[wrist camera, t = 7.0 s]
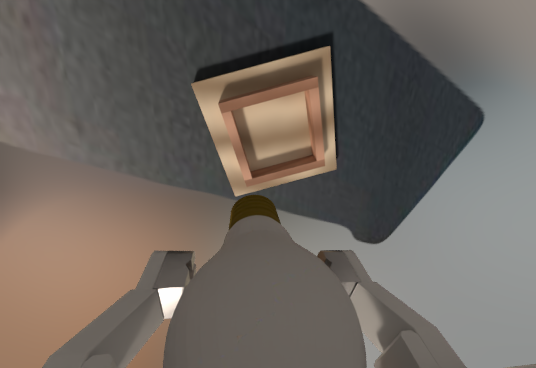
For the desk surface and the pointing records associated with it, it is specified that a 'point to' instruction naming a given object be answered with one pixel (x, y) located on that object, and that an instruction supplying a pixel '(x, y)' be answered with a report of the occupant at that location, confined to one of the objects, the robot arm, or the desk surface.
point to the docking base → (272, 120)
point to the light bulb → (263, 304)
